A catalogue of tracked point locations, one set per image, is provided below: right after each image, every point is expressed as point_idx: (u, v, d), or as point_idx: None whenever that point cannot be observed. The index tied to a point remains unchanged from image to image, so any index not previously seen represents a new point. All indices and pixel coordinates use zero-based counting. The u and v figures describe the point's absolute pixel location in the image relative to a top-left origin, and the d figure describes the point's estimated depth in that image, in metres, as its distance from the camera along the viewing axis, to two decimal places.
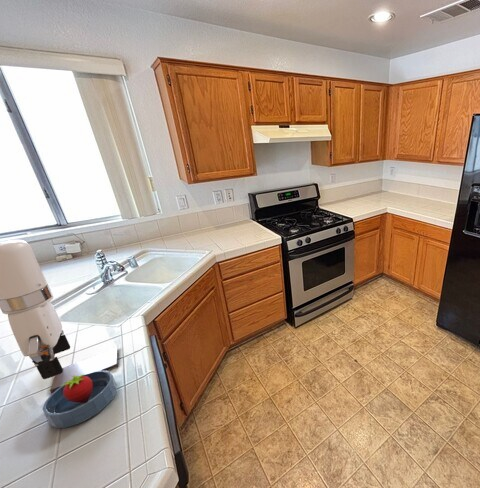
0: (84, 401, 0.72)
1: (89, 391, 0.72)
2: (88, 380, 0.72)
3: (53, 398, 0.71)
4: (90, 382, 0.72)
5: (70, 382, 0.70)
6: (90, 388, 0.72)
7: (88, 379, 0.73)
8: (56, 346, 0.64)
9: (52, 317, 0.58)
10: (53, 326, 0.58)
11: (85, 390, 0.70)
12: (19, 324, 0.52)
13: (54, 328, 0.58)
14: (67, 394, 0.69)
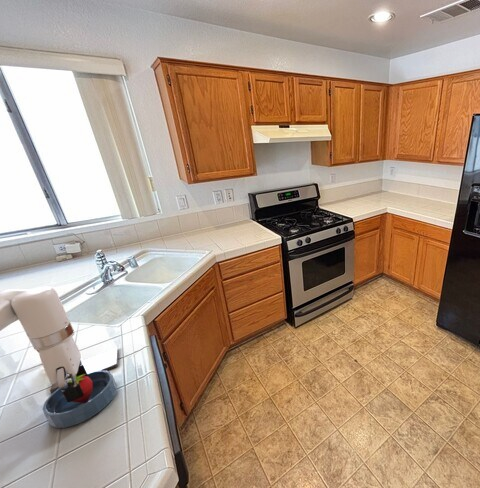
0: (84, 401, 0.72)
1: (89, 391, 0.72)
2: (88, 380, 0.72)
3: (53, 398, 0.71)
4: (90, 382, 0.72)
5: None
6: (90, 388, 0.72)
7: (88, 379, 0.73)
8: (76, 375, 0.74)
9: (73, 349, 0.69)
10: (74, 357, 0.68)
11: (85, 390, 0.70)
12: (48, 358, 0.63)
13: (75, 359, 0.69)
14: None
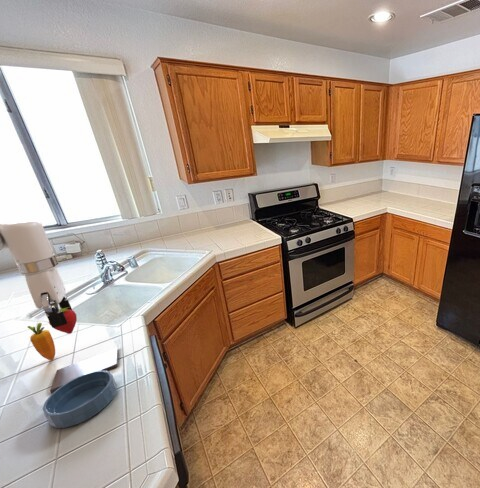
0: (68, 331, 0.78)
1: (73, 321, 0.78)
2: (72, 312, 0.79)
3: (53, 398, 0.71)
4: (74, 314, 0.79)
5: None
6: (74, 319, 0.78)
7: (72, 311, 0.79)
8: None
9: (58, 281, 0.75)
10: (59, 287, 0.75)
11: (69, 319, 0.77)
12: (33, 283, 0.69)
13: (59, 289, 0.75)
14: None
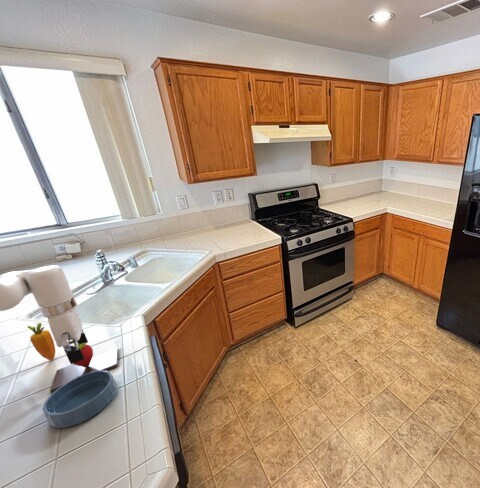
0: (85, 365, 0.84)
1: (90, 356, 0.84)
2: (89, 347, 0.85)
3: (53, 398, 0.71)
4: (91, 349, 0.85)
5: None
6: (91, 354, 0.84)
7: (89, 346, 0.85)
8: (78, 340, 0.86)
9: (76, 319, 0.81)
10: (77, 326, 0.81)
11: (87, 355, 0.83)
12: (55, 324, 0.75)
13: (78, 327, 0.81)
14: None
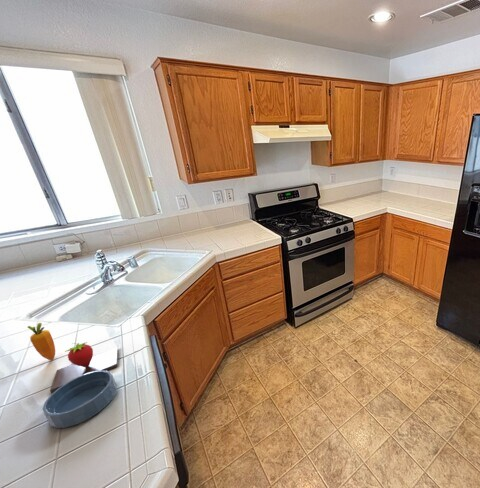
0: (85, 365, 0.84)
1: (90, 356, 0.84)
2: (89, 347, 0.85)
3: (53, 398, 0.71)
4: (91, 349, 0.85)
5: (74, 348, 0.83)
6: (91, 354, 0.84)
7: (89, 346, 0.85)
8: None
9: None
10: None
11: (87, 355, 0.83)
12: None
13: None
14: (71, 357, 0.81)
